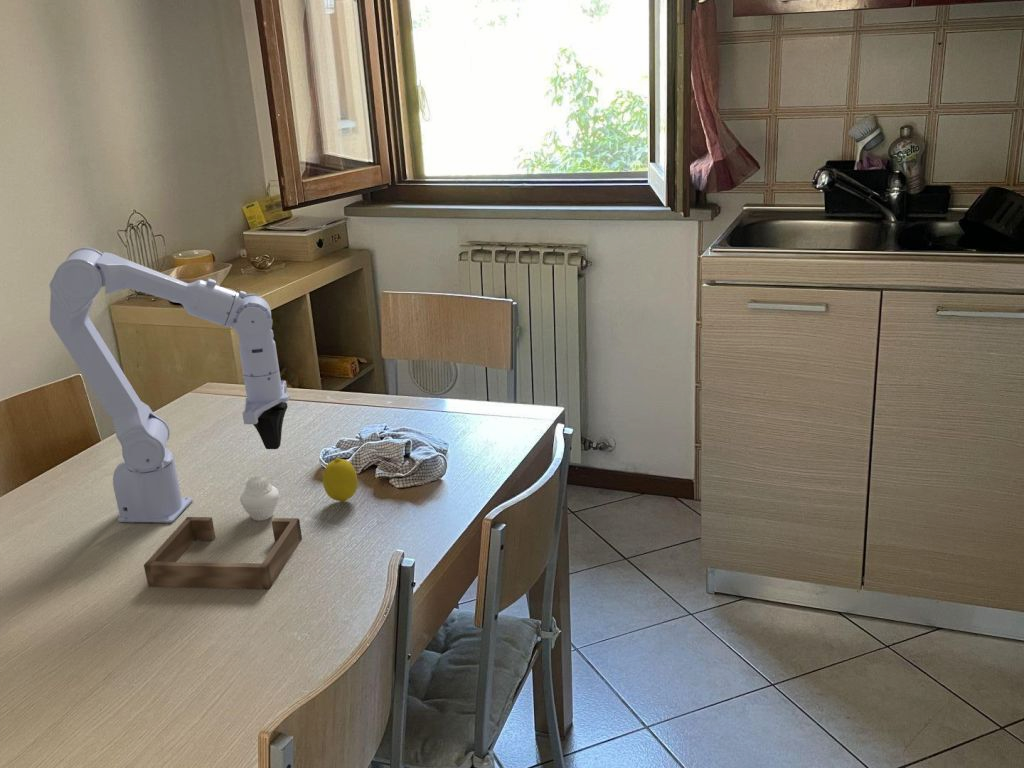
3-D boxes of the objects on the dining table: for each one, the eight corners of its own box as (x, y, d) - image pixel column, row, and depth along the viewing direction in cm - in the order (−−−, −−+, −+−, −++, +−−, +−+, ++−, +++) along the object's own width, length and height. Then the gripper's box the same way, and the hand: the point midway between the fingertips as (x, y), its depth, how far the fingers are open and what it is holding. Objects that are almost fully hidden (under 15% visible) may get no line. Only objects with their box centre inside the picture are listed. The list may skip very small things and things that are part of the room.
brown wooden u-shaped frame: (148, 586, 133) (143, 564, 132) (191, 536, 146) (187, 516, 145) (269, 589, 131) (265, 567, 129) (302, 538, 144) (299, 518, 142)
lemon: (353, 511, 151) (347, 466, 149) (321, 509, 152) (314, 465, 150) (364, 495, 156) (359, 451, 154) (333, 493, 158) (328, 450, 155)
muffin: (263, 528, 147) (256, 488, 145) (234, 520, 150) (228, 481, 148) (290, 511, 152) (284, 472, 150) (261, 504, 155) (255, 466, 153)
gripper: (268, 386, 144) (281, 466, 149) (299, 356, 157) (309, 430, 162) (225, 386, 145) (238, 466, 149) (259, 356, 158) (270, 430, 163)
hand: (273, 447), depth 156 cm, fingers closed
